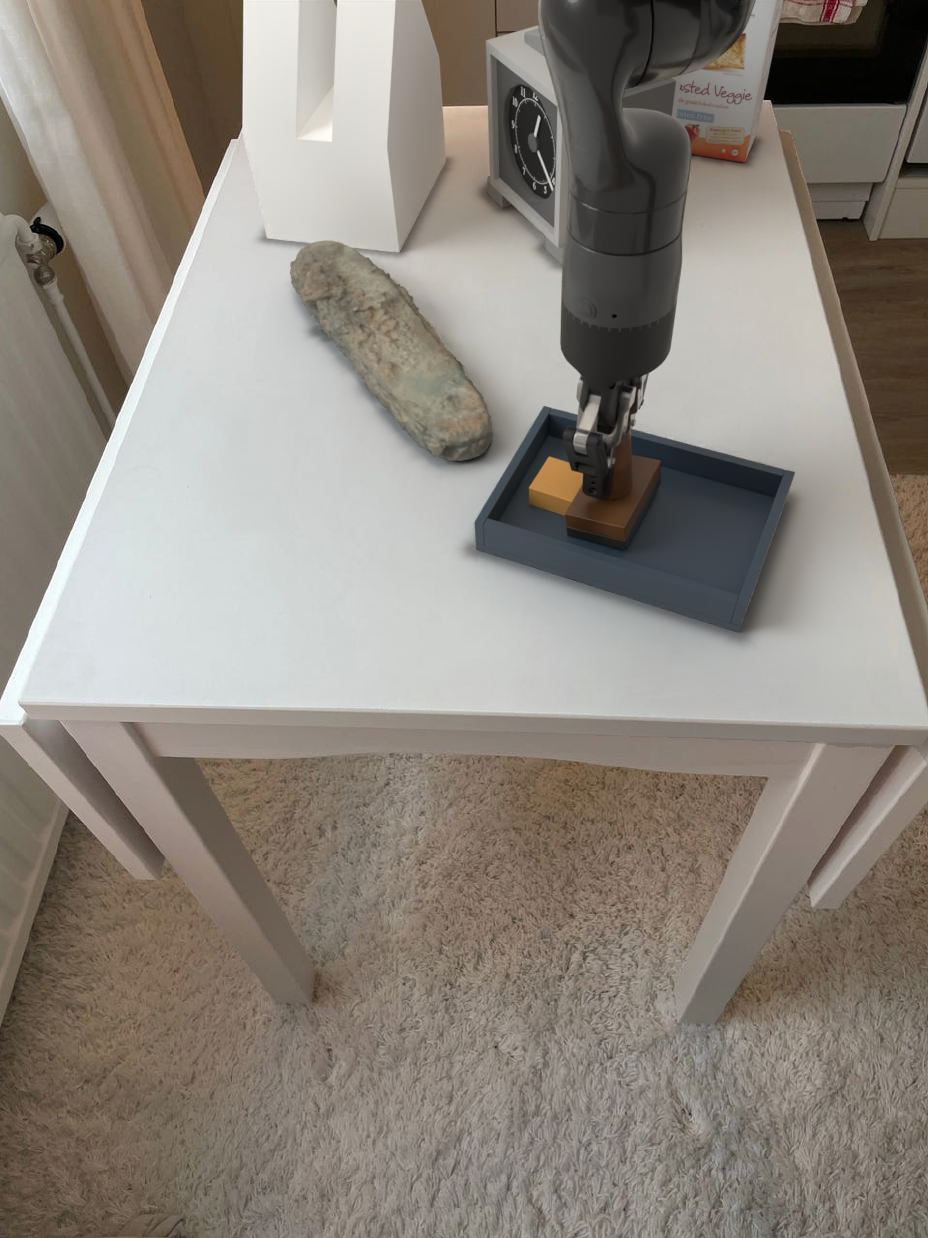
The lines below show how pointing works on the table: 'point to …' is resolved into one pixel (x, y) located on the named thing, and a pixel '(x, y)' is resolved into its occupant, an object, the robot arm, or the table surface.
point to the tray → (649, 526)
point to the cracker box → (731, 90)
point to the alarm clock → (539, 132)
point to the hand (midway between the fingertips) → (604, 478)
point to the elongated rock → (393, 349)
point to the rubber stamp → (616, 500)
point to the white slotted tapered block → (341, 118)
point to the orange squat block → (555, 486)
